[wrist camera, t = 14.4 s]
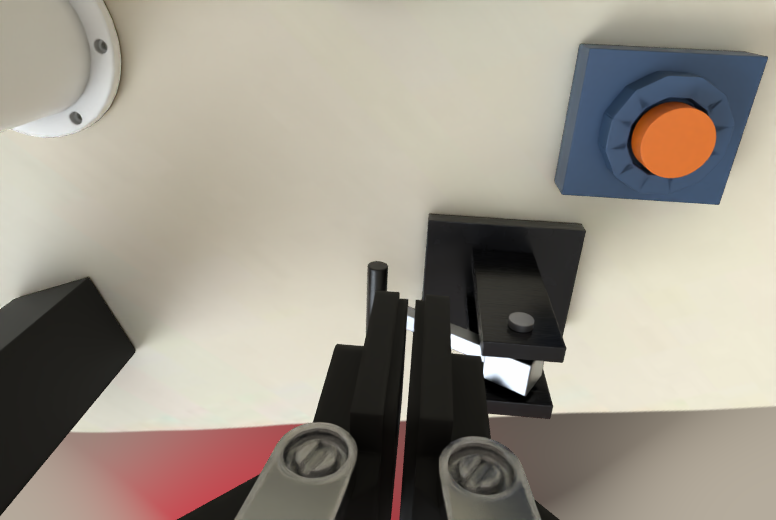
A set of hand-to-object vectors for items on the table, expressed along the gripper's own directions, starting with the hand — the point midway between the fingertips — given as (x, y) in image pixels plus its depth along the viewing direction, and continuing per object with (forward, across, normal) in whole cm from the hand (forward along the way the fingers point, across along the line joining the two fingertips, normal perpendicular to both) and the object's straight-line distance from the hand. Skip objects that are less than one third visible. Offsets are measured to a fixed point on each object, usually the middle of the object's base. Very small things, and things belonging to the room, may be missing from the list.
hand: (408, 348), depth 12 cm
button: (+23, -14, 0) cm, 27 cm away
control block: (+27, -14, 0) cm, 31 cm away
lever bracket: (+27, -6, +12) cm, 30 cm away
